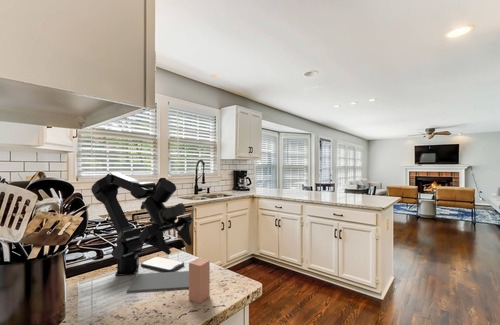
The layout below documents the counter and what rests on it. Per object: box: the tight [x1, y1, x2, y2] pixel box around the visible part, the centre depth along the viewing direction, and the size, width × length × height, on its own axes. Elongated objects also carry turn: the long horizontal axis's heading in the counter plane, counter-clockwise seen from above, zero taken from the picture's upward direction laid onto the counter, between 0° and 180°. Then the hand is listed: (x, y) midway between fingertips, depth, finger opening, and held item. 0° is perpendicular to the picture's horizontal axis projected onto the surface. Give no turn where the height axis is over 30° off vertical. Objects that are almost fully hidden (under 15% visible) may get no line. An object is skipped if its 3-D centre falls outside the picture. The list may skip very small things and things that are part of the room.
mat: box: [126, 270, 189, 293], centre depth 87 cm, size 22×12×1 cm, turn 98°
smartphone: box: [140, 256, 185, 273], centre depth 100 cm, size 9×2×16 cm
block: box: [188, 257, 211, 304], centre depth 76 cm, size 4×4×11 cm
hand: (180, 249), depth 80 cm, fingers open, 9 cm apart
